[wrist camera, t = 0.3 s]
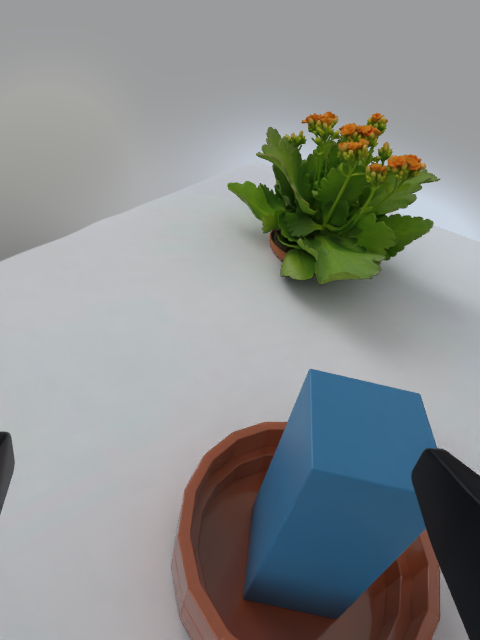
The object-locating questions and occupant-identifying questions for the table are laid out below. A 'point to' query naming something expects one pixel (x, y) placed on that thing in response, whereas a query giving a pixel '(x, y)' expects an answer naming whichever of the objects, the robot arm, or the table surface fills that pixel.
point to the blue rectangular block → (337, 495)
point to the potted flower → (336, 201)
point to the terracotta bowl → (232, 549)
